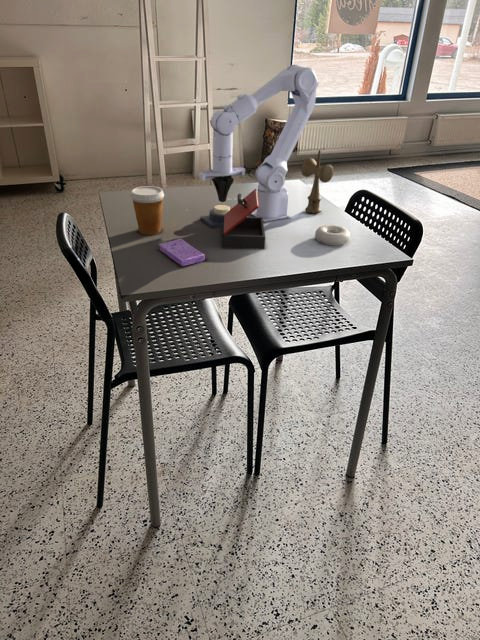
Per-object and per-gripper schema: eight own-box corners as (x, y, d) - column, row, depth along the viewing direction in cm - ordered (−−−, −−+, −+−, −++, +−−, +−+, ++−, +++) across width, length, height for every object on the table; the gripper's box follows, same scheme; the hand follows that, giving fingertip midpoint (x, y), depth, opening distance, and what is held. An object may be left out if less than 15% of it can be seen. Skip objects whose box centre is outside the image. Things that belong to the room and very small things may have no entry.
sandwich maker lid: (256, 190, 144) (248, 180, 142) (258, 207, 131) (249, 196, 129) (225, 216, 148) (217, 206, 146) (224, 235, 135) (215, 225, 133)
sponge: (181, 244, 138) (181, 238, 137) (205, 260, 129) (205, 254, 128) (158, 250, 134) (158, 243, 133) (181, 267, 126) (181, 260, 125)
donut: (346, 250, 138) (351, 236, 146) (348, 238, 136) (353, 225, 144) (311, 244, 141) (318, 231, 149) (312, 233, 139) (319, 220, 147)
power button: (225, 209, 156) (225, 203, 155) (232, 214, 153) (232, 208, 152) (211, 211, 154) (211, 206, 153) (218, 216, 150) (218, 210, 149)
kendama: (310, 206, 169) (316, 145, 158) (329, 214, 162) (337, 151, 152) (296, 209, 166) (302, 147, 155) (316, 218, 159) (323, 154, 149)
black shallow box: (262, 228, 150) (262, 217, 148) (264, 249, 137) (265, 236, 135) (224, 227, 150) (225, 216, 148) (223, 248, 137) (224, 235, 135)
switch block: (231, 214, 160) (231, 205, 158) (243, 222, 154) (244, 212, 153) (200, 219, 155) (200, 210, 153) (212, 227, 149) (212, 218, 148)
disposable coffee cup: (151, 239, 140) (148, 198, 134) (126, 232, 144) (122, 191, 138) (173, 229, 147) (171, 189, 141) (148, 222, 151) (145, 183, 145)
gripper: (237, 150, 150) (236, 194, 157) (194, 154, 144) (194, 200, 151) (249, 155, 145) (247, 200, 152) (205, 160, 139) (205, 207, 146)
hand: (222, 201), depth 151 cm, fingers closed
